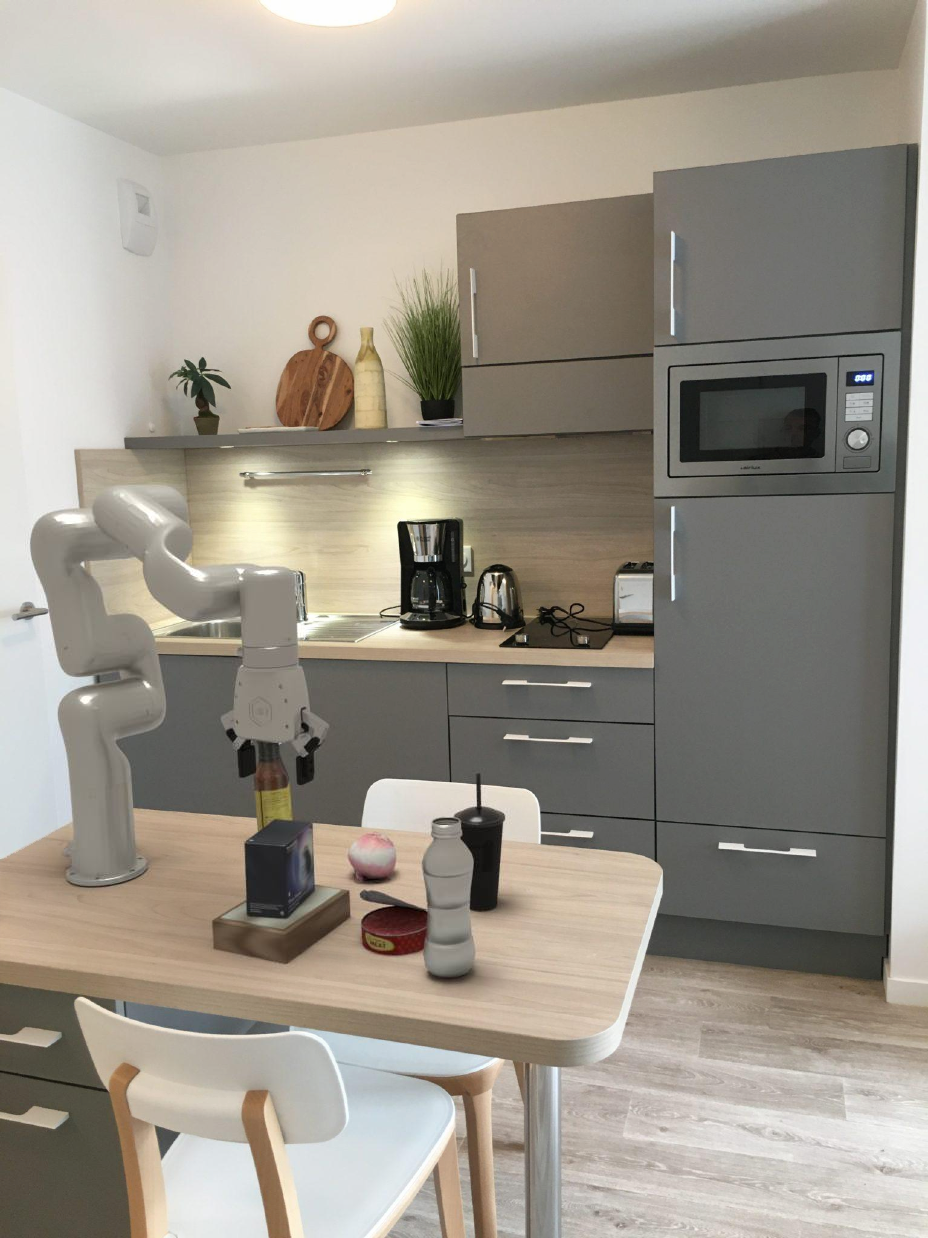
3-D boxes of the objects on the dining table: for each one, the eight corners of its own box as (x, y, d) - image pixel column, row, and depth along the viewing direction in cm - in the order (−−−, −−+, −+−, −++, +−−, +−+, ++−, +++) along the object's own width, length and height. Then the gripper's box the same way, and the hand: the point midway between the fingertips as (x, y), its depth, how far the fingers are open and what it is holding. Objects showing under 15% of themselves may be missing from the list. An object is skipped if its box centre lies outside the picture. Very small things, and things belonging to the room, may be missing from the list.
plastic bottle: (422, 962, 131) (417, 814, 129) (474, 959, 132) (470, 812, 130) (424, 986, 125) (419, 831, 123) (478, 982, 126) (474, 828, 123)
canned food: (362, 970, 140) (343, 899, 143) (428, 948, 144) (408, 879, 146) (380, 965, 130) (359, 889, 133) (451, 941, 134) (429, 868, 136)
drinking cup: (514, 899, 151) (512, 769, 149) (494, 918, 144) (491, 783, 142) (468, 891, 155) (465, 765, 152) (447, 910, 148) (443, 778, 145)
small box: (289, 920, 136) (285, 845, 134) (244, 916, 137) (240, 842, 136) (318, 890, 146) (314, 820, 144) (276, 887, 147) (272, 818, 146)
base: (213, 948, 137) (212, 918, 137) (282, 904, 151) (281, 877, 151) (286, 963, 132) (285, 932, 132) (350, 916, 146) (349, 888, 146)
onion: (403, 878, 163) (409, 841, 161) (369, 897, 158) (375, 860, 155) (368, 853, 168) (374, 818, 165) (334, 871, 162) (339, 834, 159)
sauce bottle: (301, 841, 179) (296, 732, 177) (277, 852, 174) (271, 740, 172) (274, 835, 183) (268, 728, 180) (249, 846, 178) (243, 736, 175)
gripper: (202, 658, 137) (208, 779, 140) (308, 665, 130) (313, 793, 132) (236, 650, 144) (242, 766, 146) (339, 656, 137) (343, 778, 139)
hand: (276, 779), depth 139 cm, fingers open, 9 cm apart
